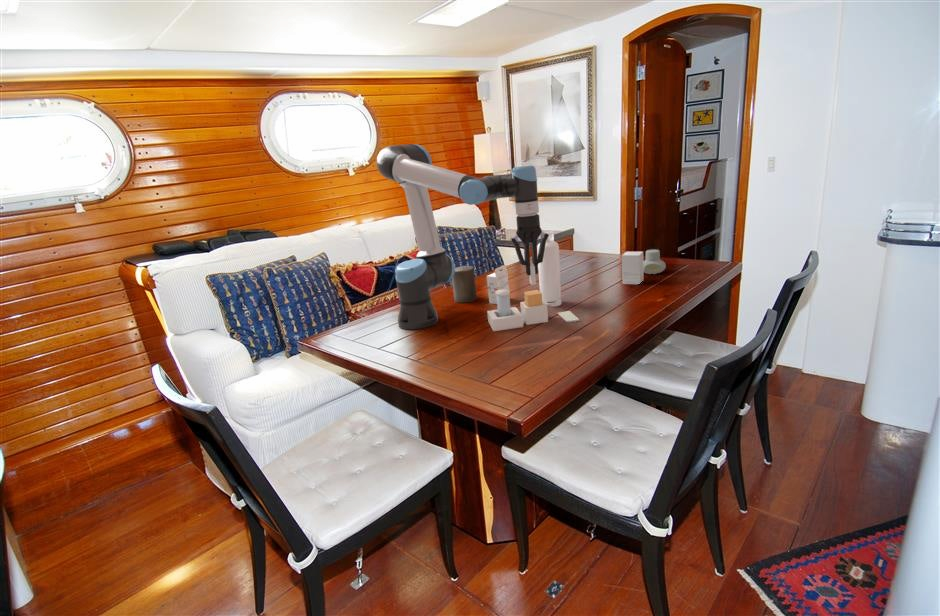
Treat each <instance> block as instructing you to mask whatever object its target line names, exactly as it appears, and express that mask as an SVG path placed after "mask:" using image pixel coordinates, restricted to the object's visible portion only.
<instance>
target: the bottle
mask: <svg viewBox="0 0 940 616" xmlns="http://www.w3.org/2000/svg"><path fill="white" fill-rule="evenodd" d="M543 232H544V233H547V234H548V235H549V236H548V238H547V240H546V244H545V250H544V256H543V262H541V263H539V264H538V281H539V282H538V284H539V291H540V292H541V293H542V301H543V302H545V303H546V304H547V306H549V307H550V308H554V307H559V306H560V305H562V288H561V287H562V285H561V262H560V247H559V246H560V245H559V243H558V242H557V241H555V235H554V234H555V233H554V231H552V230H551V231H550V230H548V231H547V230H546V231H543ZM539 246H540V242H539V243H537V245H536V247H537V254H538V252H539Z"/></svg>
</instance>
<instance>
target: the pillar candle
mask: <svg viewBox="0 0 940 616" xmlns="http://www.w3.org/2000/svg"><path fill="white" fill-rule="evenodd" d="M451 281H452V290H453V291H452V292H453V298H454V302H456V303H463V304H464V303H470V302H474V301H476V300H477V299H478V295H477V286H476V278H475V270H474V266H471V265H461V266H458V267H456V266H455V273H454V276H453V277H452V279H451Z"/></svg>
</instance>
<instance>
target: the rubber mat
mask: <svg viewBox="0 0 940 616" xmlns="http://www.w3.org/2000/svg"><path fill="white" fill-rule="evenodd" d="M557 314H558V315H559V316H560V317H561V318H562V319H563V320H564V321H565V322H566V323H576V322H580V319H579V318H578V316H577V315H575V314H574V313H572V311H570V310H567V311H559V312H557Z"/></svg>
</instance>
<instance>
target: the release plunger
mask: <svg viewBox="0 0 940 616" xmlns="http://www.w3.org/2000/svg"><path fill="white" fill-rule="evenodd" d="M523 298H524V301H525V305H526V306H527V307H531V306H538V305H542V293H541V292H540V289H533V290H527V291H523Z"/></svg>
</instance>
